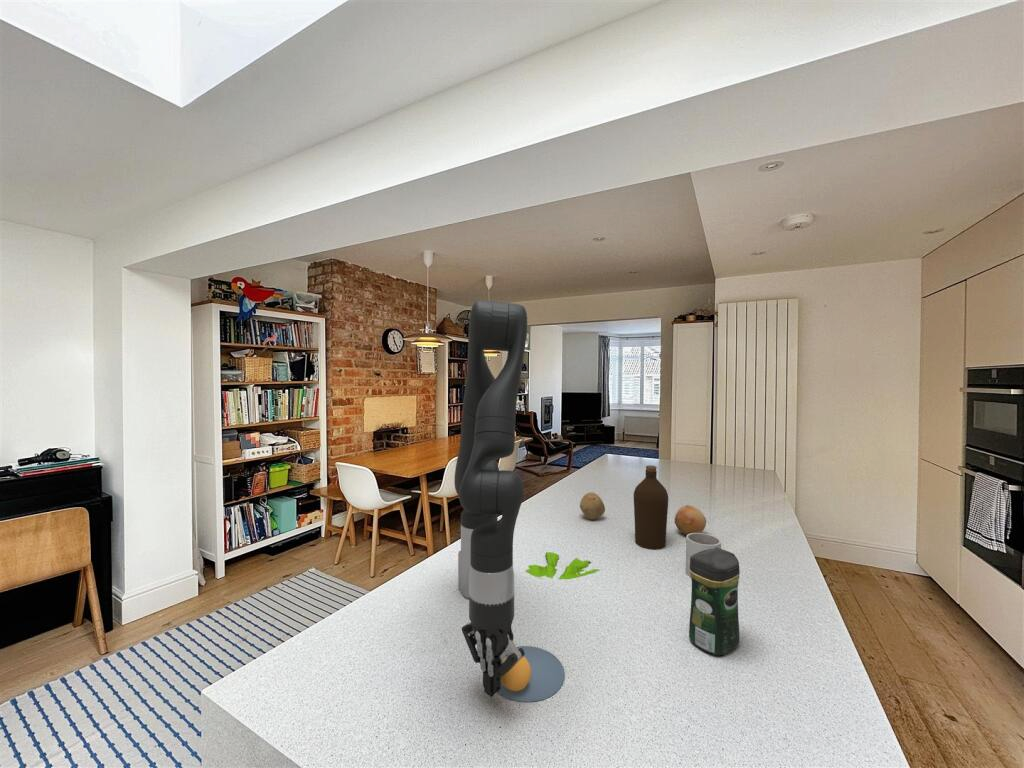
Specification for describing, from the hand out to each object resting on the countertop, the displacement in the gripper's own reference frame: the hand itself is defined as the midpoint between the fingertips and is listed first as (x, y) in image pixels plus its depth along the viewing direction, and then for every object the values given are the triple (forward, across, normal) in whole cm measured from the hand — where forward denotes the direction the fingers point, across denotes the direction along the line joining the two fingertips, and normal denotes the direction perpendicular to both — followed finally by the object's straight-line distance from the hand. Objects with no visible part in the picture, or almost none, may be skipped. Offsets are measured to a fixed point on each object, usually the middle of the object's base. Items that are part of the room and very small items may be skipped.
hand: (491, 692), depth 70 cm
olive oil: (+2, +7, -80) cm, 80 cm away
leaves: (+3, +19, -49) cm, 53 cm away
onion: (+2, 0, -96) cm, 96 cm away
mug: (+2, -13, -71) cm, 72 cm away
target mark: (+2, 0, -9) cm, 9 cm away
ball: (-1, -1, -5) cm, 5 cm away
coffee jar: (+2, -23, -41) cm, 47 cm away
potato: (+2, +33, -87) cm, 93 cm away
